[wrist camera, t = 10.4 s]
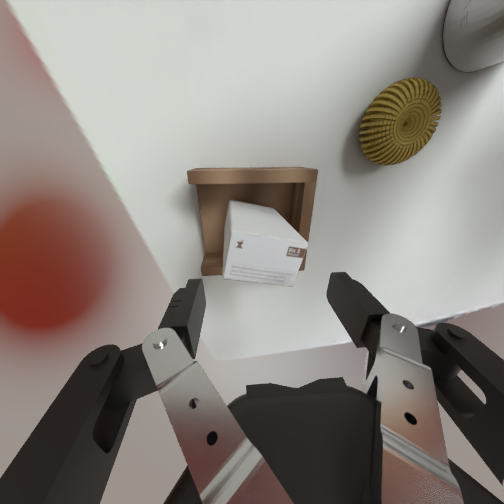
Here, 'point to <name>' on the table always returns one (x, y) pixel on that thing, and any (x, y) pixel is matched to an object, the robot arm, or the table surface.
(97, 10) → the table surface
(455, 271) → the table surface
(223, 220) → the u rest
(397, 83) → the sculpture
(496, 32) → the robot arm
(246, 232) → the skincare box
